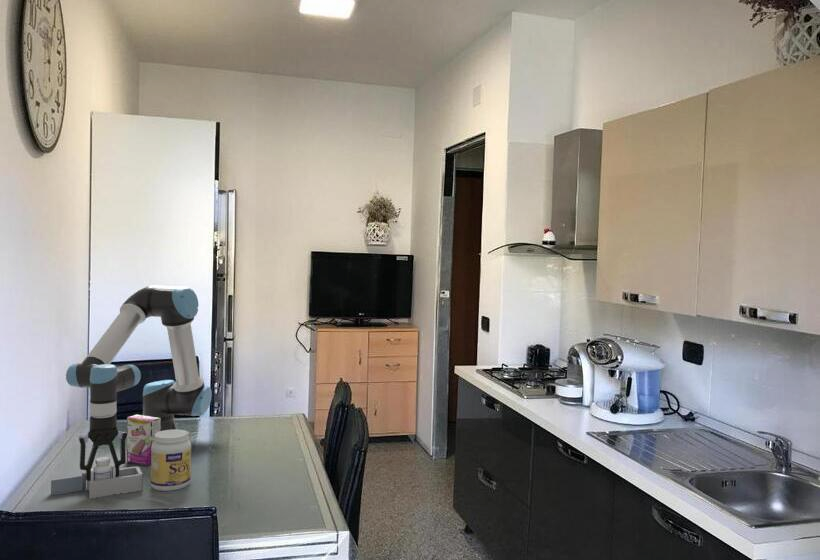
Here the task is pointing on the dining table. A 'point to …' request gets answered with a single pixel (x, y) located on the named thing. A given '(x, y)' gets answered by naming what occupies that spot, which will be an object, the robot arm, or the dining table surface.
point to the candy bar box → (141, 438)
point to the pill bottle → (102, 469)
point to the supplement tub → (170, 460)
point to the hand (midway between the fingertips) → (102, 488)
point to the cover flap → (68, 484)
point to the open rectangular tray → (117, 483)
